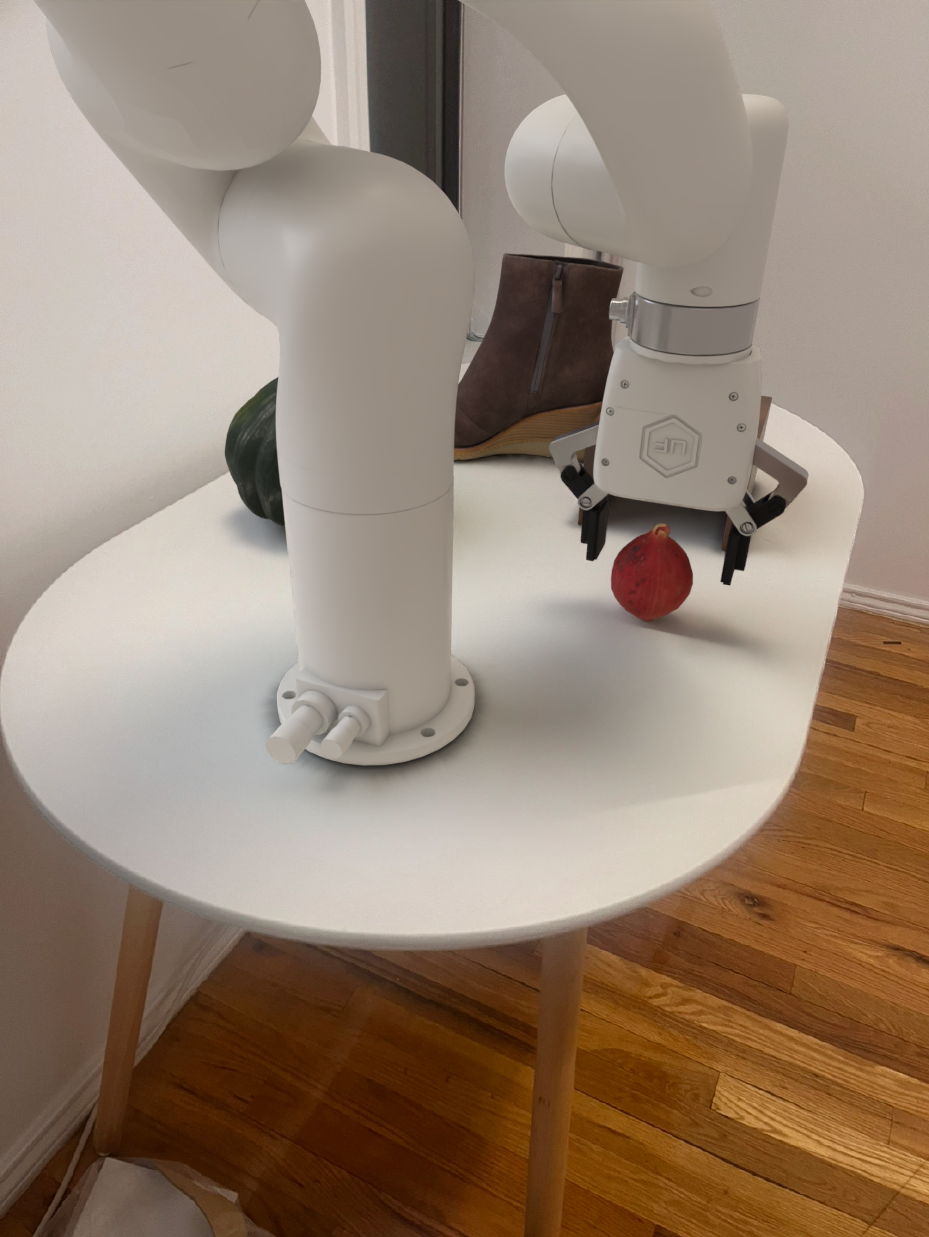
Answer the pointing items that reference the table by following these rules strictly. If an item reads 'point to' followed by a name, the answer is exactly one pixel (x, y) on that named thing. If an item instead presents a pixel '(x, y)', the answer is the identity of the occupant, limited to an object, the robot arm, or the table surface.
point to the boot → (538, 357)
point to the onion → (652, 575)
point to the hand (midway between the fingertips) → (660, 564)
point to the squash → (257, 455)
